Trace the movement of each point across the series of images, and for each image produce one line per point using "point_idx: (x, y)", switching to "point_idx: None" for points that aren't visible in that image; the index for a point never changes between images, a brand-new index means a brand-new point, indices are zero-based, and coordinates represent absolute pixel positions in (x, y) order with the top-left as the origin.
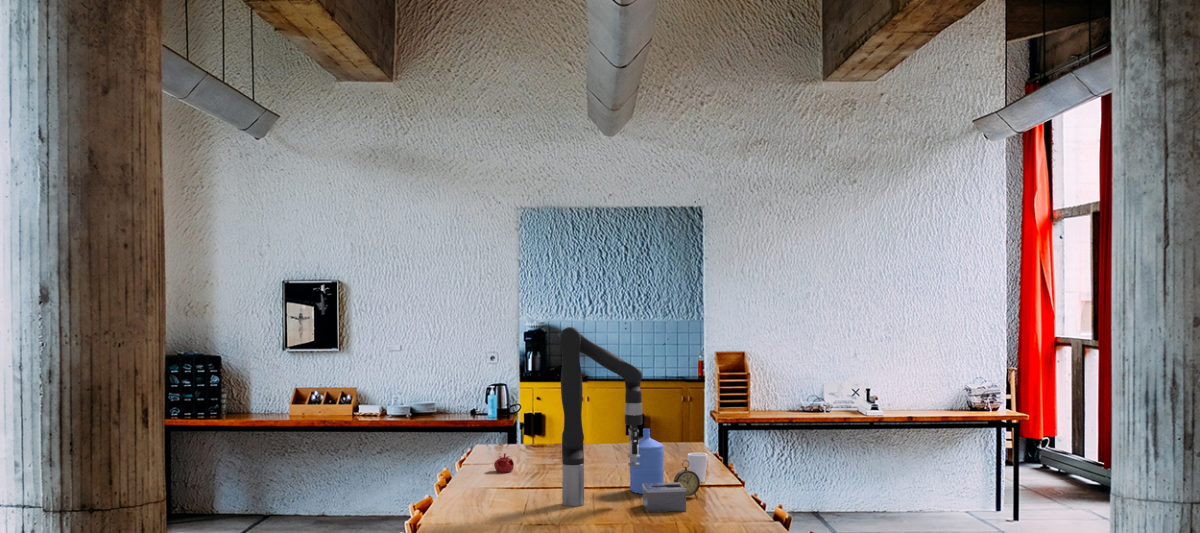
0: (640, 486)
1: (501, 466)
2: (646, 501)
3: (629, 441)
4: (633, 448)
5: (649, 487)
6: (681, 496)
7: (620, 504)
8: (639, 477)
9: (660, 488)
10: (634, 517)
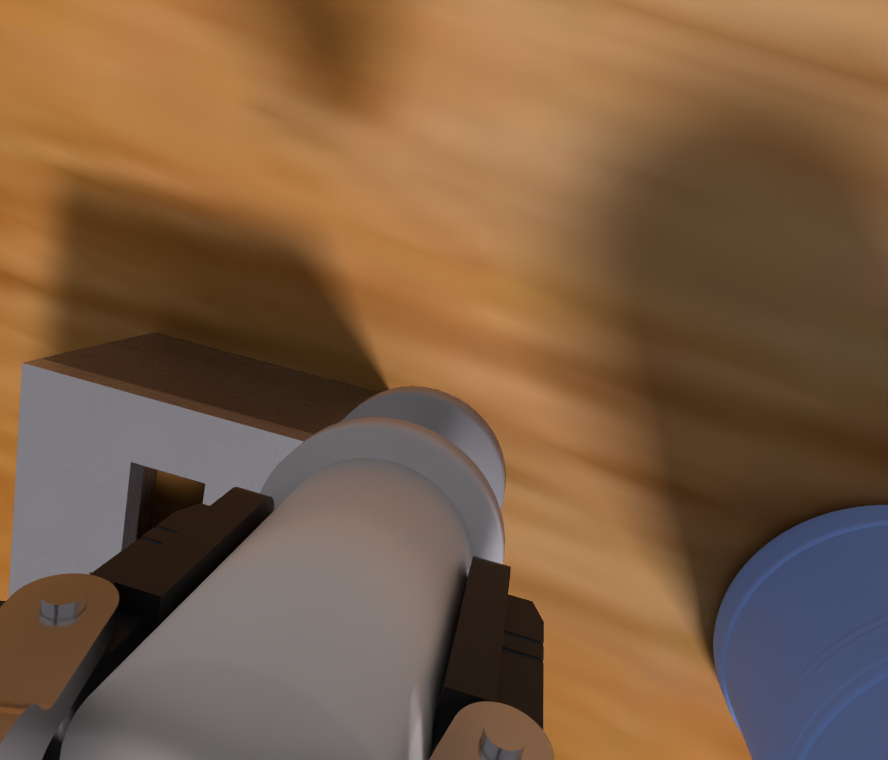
0: (792, 571)
1: None
2: (159, 357)
3: (210, 651)
4: (113, 561)
5: (132, 432)
6: None
7: (469, 233)
8: (839, 615)
9: (70, 505)
10: (41, 185)
